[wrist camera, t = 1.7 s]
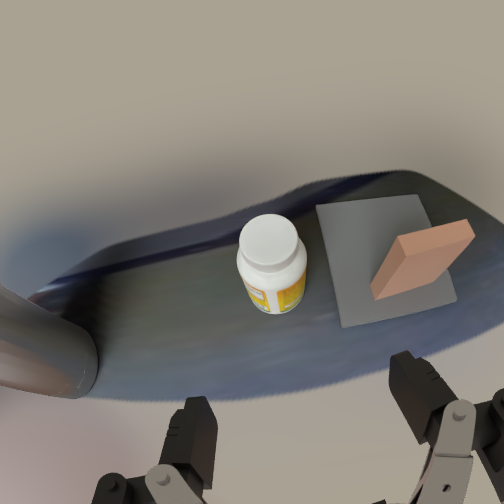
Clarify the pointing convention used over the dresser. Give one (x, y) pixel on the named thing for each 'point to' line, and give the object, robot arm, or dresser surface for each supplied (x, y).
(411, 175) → the dresser surface
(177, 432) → the robot arm
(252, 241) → the supplement bottle
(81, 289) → the dresser surface
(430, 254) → the terracotta tile
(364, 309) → the rubber mat
